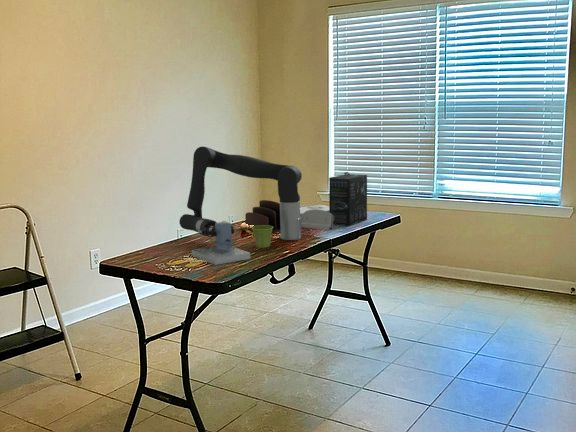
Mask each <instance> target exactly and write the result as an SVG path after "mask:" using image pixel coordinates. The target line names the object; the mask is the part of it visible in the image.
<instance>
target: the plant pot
mask: <svg viewBox="0 0 576 432" xmlns="http://www.w3.org/2000/svg"><path fill="white" fill-rule="evenodd" d="M252 229H253V230H252ZM252 229H251V230H252V232H253V237H254V241H255V247H256V248H258V249H265V248H270V247H271V240H272V234H273V233H272V229H273V226H269V225H258V226H253V227H252Z"/></svg>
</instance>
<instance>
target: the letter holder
mask: <svg viewBox="0 0 576 432" xmlns="http://www.w3.org/2000/svg"><path fill="white" fill-rule="evenodd" d="M258 203H259V204H258V205H259V206H253V207H252V212H246V213H245V219H244V221H245V222H244V223H245V224H249V225H254V226H258V225H269V226H273V229H272V233H271V234H273V233H280V202H277V201H273V200H269V199H268V200H265V199H263V200H259V201H258ZM245 224H244V225H245Z"/></svg>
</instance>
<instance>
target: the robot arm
mask: <svg viewBox="0 0 576 432" xmlns="http://www.w3.org/2000/svg"><path fill="white" fill-rule="evenodd" d="M208 168H212V169H213V168H214V169H221V170H226V171H228V172H230V173H233V174H236V175H239V176H242V177H248V178H252V179H268V180H269V179H270V180H275V181H277V195H278V198H279V203H280V232H279V233H280V240H284V241H296V240H297V241H298V240H300V239H301V238H302V227H301V223H302V222H301V217H300V207H301V196H300V194H299V192H298V191H299V190H298V184H299V183H300V182H301V180H302V172H301V170H300V169H299V168H298V167H297V166H294V165H290V164H289V165H288V164H280V163H279V164H278V163H274V162H269V161H266V160H263V159H260V158H255V157H252V156H248V155H243V154H229V153H223V152H221V151H218V150H215V149H213V148H211V147H207V146H198V147H197V148H196V149H195V150H194V153H193V157H192V173H191V175H192V176H191V184H190V187H189V189H190V190H189V193H188V194H189V195H188V197H187V202H186V207H187V209H188V210H191V211H193V214H189V213H184V214H182V215H181V216H180V218H179V225H180V227H181V228H182V229H184V230H188V231H194V232H196V233H198V234H199V235H201V236H204V237H209V238H213V237H216V236H217V232H216V231H215V223H218V222H217V221H216V220H213V219H210V218H204V217H203V204H204V199H205V190H206V187H205V178H206V173H207V169H208ZM233 234H235V229H234V226H233V225H231V235H233Z"/></svg>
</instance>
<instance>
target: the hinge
mask: <svg viewBox="0 0 576 432" xmlns="http://www.w3.org/2000/svg"><path fill="white" fill-rule="evenodd" d="M301 228H306V229H316V230H325V231H327V230H330V229H334V224H333V214H331V213H329V212H327V211H324V210H308V211H305V212H304V216H303V219H302V222H301Z"/></svg>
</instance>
